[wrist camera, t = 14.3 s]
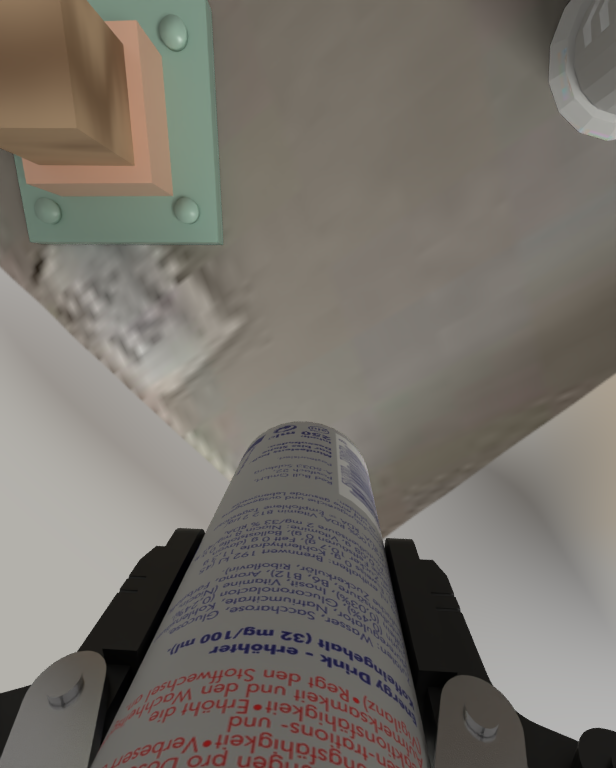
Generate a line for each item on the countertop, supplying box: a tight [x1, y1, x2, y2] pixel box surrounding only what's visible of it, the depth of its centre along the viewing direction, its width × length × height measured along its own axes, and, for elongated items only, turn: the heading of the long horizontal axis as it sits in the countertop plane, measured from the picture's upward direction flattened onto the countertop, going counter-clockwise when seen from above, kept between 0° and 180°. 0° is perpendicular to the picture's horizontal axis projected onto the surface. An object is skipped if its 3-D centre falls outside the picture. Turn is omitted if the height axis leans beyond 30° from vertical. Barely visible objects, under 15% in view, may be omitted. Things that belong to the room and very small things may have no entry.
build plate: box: [14, 0, 223, 245], centre depth 22 cm, size 14×14×4 cm
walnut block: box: [0, 0, 135, 166], centre depth 18 cm, size 6×6×5 cm
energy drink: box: [90, 422, 431, 768], centre depth 9 cm, size 5×5×12 cm
